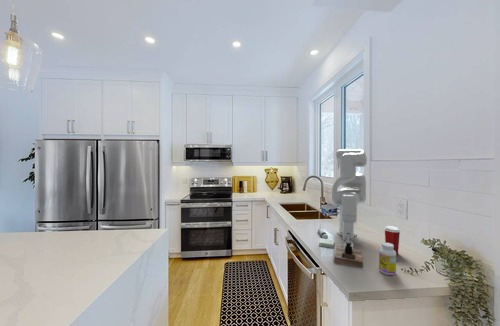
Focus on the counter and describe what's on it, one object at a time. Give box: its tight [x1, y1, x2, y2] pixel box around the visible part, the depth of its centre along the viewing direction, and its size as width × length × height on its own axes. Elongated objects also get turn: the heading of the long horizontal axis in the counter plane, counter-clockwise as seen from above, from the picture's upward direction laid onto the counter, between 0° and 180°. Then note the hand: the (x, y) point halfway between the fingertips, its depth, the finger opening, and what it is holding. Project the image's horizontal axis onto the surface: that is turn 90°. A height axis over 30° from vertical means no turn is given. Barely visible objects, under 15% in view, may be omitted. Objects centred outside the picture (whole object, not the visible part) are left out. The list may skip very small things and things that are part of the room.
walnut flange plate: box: [333, 245, 364, 268], centre depth 116 cm, size 16×13×3 cm
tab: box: [318, 237, 335, 249], centre depth 135 cm, size 8×8×2 cm
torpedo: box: [316, 224, 329, 239], centre depth 152 cm, size 18×5×7 cm, turn 177°
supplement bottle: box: [378, 242, 397, 276], centre depth 102 cm, size 7×7×13 cm
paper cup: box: [383, 225, 401, 256], centre depth 123 cm, size 8×8×14 cm
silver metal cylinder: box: [343, 241, 354, 254], centre depth 117 cm, size 4×4×5 cm
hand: (348, 251), depth 117 cm, fingers closed on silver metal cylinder, 4 cm apart
